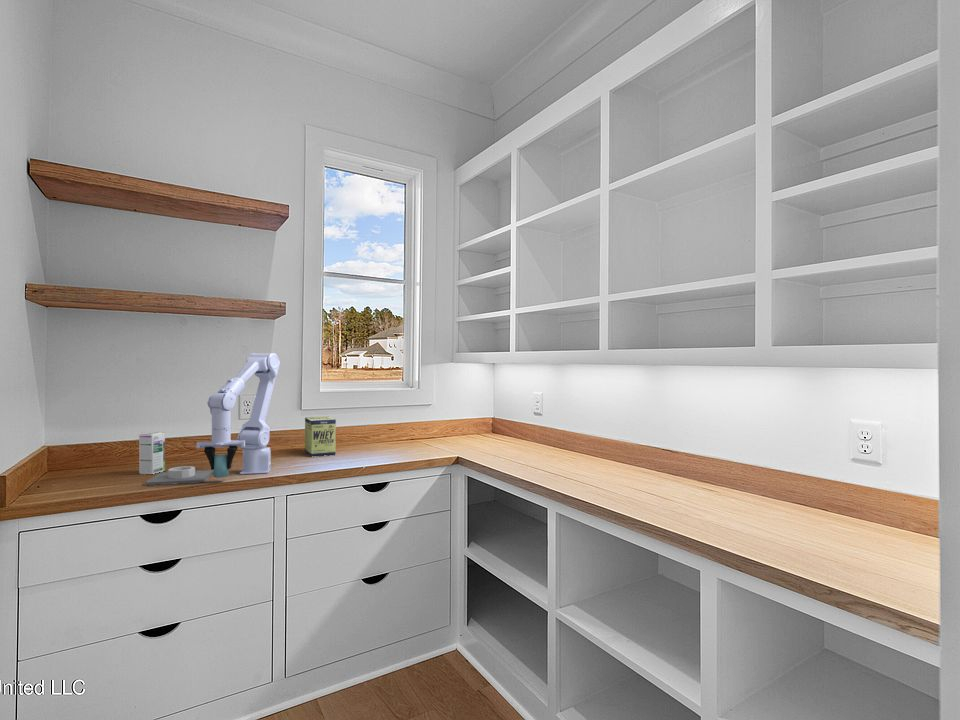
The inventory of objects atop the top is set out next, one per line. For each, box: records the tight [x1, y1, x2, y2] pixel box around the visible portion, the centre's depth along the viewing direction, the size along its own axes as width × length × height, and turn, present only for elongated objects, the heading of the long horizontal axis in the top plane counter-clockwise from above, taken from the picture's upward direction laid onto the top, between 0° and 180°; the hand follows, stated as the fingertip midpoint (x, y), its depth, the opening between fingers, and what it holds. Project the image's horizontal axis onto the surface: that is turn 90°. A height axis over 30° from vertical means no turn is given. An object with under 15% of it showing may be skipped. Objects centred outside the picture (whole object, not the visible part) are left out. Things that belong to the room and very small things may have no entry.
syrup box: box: [138, 431, 166, 475], centre depth 186 cm, size 6×6×14 cm
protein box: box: [304, 416, 337, 458], centre depth 227 cm, size 10×16×16 cm
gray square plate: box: [144, 465, 214, 486], centre depth 177 cm, size 17×16×4 cm
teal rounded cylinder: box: [213, 453, 229, 479], centre depth 173 cm, size 4×4×7 cm
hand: (221, 468), depth 173 cm, fingers closed on teal rounded cylinder, 4 cm apart
